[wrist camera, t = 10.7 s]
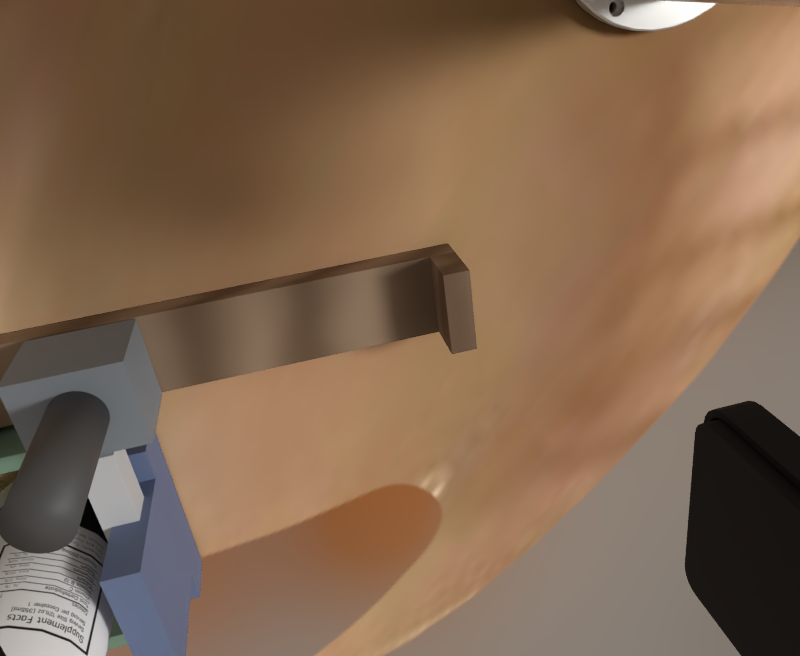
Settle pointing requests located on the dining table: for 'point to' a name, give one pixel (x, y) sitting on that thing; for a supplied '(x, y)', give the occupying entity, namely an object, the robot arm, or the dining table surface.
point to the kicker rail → (291, 318)
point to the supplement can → (55, 596)
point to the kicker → (102, 475)
